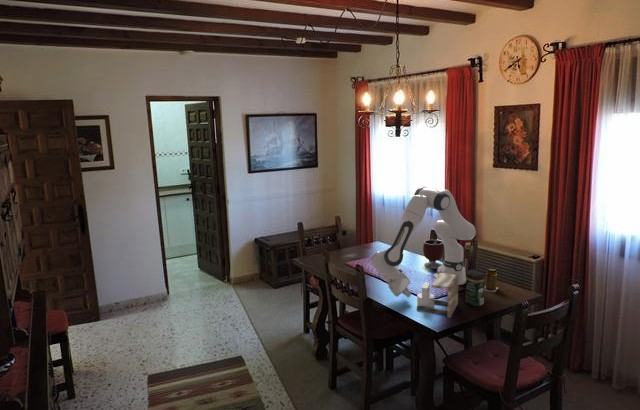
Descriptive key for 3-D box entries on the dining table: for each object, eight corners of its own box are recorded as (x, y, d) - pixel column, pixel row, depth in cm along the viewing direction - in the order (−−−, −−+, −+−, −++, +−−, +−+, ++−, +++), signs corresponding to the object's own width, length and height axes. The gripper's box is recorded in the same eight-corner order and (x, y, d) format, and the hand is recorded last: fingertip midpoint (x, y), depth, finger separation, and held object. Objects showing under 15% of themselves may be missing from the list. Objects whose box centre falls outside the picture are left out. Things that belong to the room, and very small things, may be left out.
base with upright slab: (432, 310, 235) (433, 289, 233) (415, 308, 238) (416, 287, 236) (435, 303, 243) (435, 283, 241) (418, 302, 246) (418, 281, 244)
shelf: (415, 312, 233) (415, 282, 230) (424, 298, 251) (425, 271, 248) (450, 317, 225) (451, 287, 222) (457, 303, 242) (458, 275, 239)
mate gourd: (421, 262, 315) (421, 235, 312) (440, 262, 315) (441, 235, 311) (425, 269, 300) (426, 241, 296) (446, 269, 299) (446, 240, 296)
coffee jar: (462, 302, 244) (463, 270, 241) (472, 299, 248) (473, 267, 245) (475, 308, 236) (476, 275, 233) (486, 304, 239) (487, 272, 236)
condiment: (498, 287, 263) (499, 268, 261) (495, 292, 256) (496, 272, 254) (485, 285, 267) (486, 266, 265) (482, 290, 260) (483, 270, 258)
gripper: (390, 279, 236) (408, 299, 233) (402, 268, 254) (418, 286, 251) (382, 286, 239) (400, 306, 236) (394, 274, 257) (411, 292, 254)
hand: (409, 296), depth 244 cm, fingers closed
